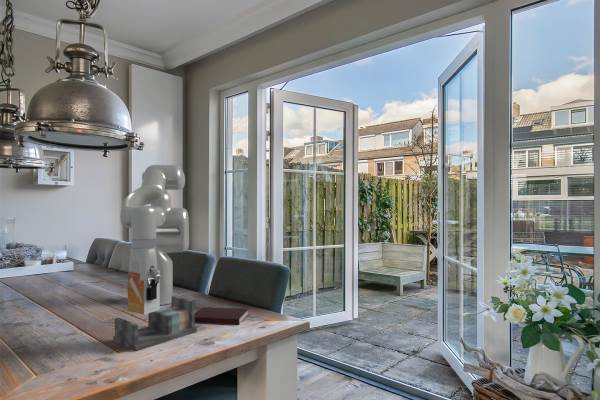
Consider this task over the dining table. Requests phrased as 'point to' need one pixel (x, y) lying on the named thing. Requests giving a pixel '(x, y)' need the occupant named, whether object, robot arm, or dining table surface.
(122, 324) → the rack
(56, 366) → the dining table surface
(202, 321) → the book
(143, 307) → the small box
